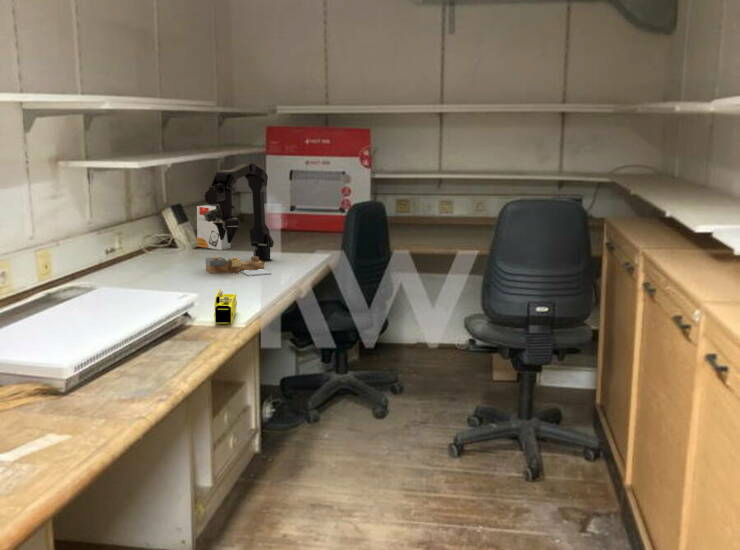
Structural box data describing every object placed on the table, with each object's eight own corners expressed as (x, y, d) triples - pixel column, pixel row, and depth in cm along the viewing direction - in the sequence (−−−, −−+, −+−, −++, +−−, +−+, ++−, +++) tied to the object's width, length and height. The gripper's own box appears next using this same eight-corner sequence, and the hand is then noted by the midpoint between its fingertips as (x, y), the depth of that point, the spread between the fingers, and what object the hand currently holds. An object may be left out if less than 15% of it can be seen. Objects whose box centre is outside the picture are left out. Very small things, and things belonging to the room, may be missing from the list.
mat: (264, 270, 288) (264, 269, 288) (271, 274, 281) (271, 273, 281) (241, 272, 283) (241, 271, 283) (247, 276, 277) (247, 274, 276)
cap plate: (221, 262, 288) (221, 255, 287) (226, 265, 282) (226, 258, 282) (205, 263, 284) (205, 256, 284) (210, 266, 279) (210, 259, 278)
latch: (237, 264, 285) (237, 256, 284) (241, 266, 281) (241, 258, 280) (228, 264, 283) (228, 256, 282) (232, 266, 279) (232, 258, 278)
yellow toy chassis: (219, 312, 221) (218, 286, 219) (237, 312, 222) (237, 287, 220) (213, 326, 205) (212, 298, 204) (232, 326, 206) (232, 298, 204)
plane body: (256, 265, 299) (256, 254, 298) (267, 270, 288) (267, 259, 287) (203, 269, 287) (203, 257, 286) (212, 274, 277) (212, 262, 276)
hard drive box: (196, 246, 342) (195, 206, 338) (206, 245, 348) (206, 205, 344) (221, 250, 335) (221, 208, 331) (231, 248, 341) (231, 207, 337)
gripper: (198, 200, 283) (199, 239, 286) (212, 205, 267) (213, 245, 270) (225, 200, 289) (225, 238, 292) (240, 204, 273) (240, 244, 276)
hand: (225, 241), depth 282 cm, fingers open, 9 cm apart
